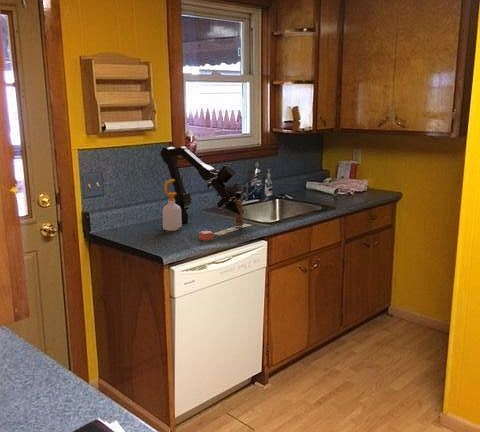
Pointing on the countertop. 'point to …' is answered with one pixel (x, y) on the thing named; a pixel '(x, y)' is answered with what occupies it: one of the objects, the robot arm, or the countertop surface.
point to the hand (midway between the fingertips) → (241, 213)
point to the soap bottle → (171, 212)
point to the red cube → (206, 235)
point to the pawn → (239, 217)
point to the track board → (231, 229)
